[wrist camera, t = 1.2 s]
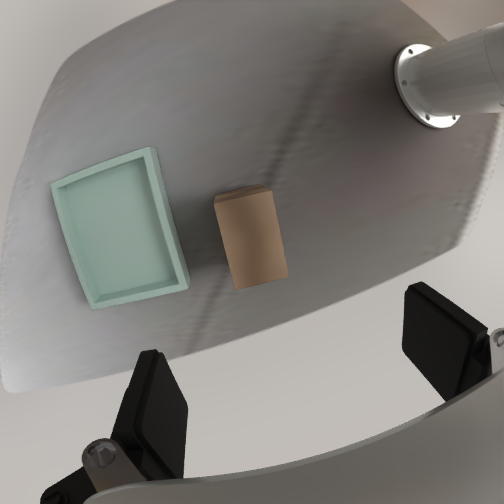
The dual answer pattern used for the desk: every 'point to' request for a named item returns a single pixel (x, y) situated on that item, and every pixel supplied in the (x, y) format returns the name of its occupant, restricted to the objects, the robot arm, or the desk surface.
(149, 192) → the tray
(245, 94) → the desk surface
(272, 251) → the walnut block
